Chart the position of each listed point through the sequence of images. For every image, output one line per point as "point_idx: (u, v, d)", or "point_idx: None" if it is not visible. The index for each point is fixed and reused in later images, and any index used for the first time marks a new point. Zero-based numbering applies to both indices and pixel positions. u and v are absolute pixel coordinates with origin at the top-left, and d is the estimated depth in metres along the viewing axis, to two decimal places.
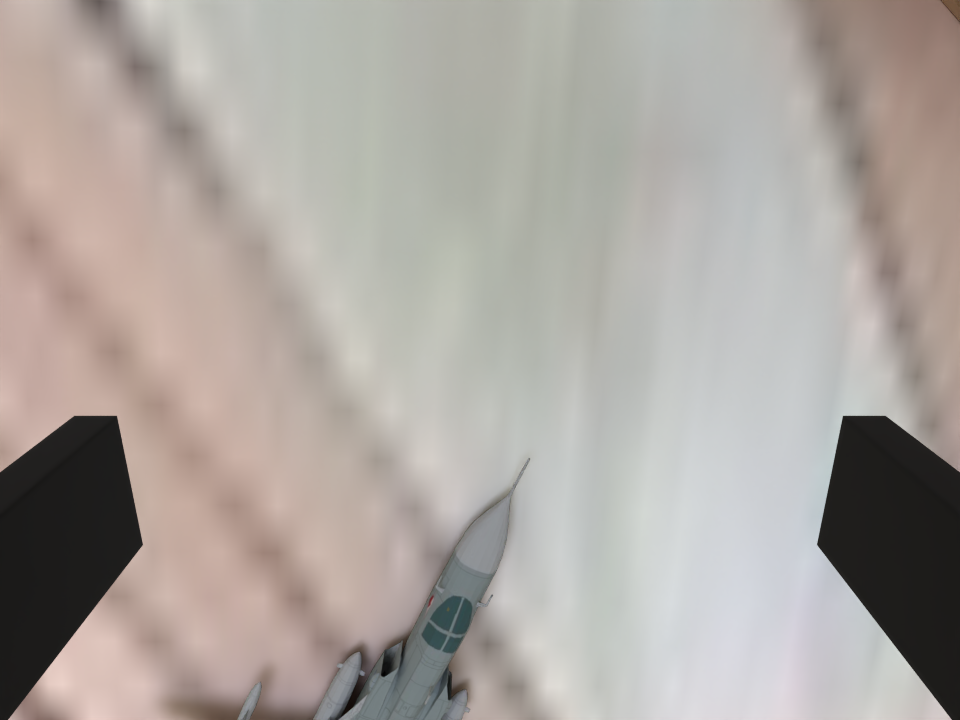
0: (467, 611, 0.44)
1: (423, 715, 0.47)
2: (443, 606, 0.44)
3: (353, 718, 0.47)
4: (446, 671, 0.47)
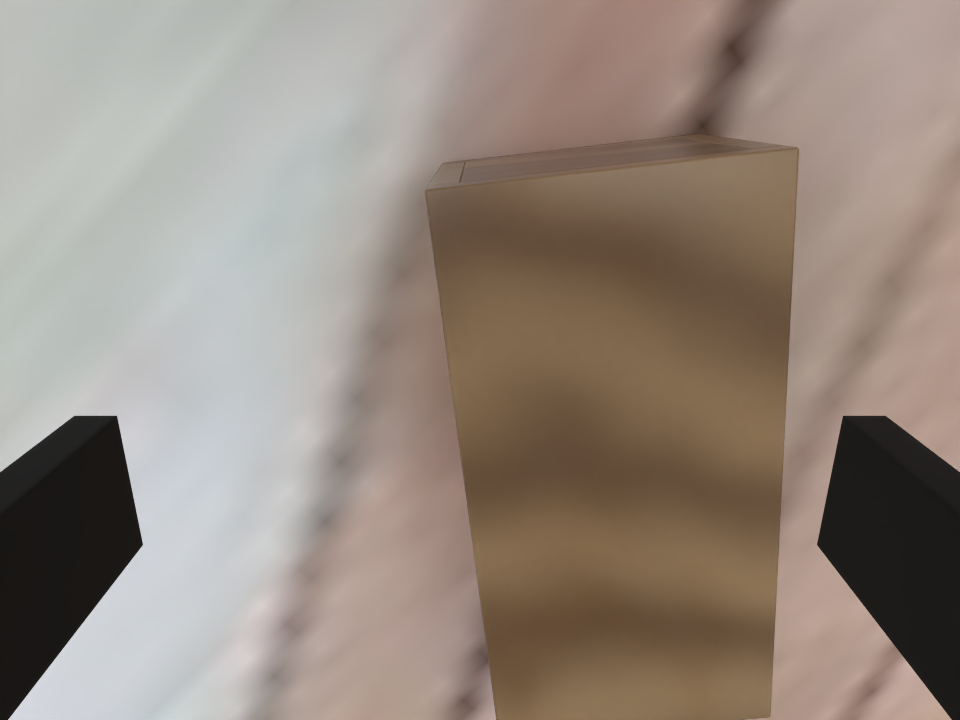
0: None
1: None
2: None
3: None
4: None
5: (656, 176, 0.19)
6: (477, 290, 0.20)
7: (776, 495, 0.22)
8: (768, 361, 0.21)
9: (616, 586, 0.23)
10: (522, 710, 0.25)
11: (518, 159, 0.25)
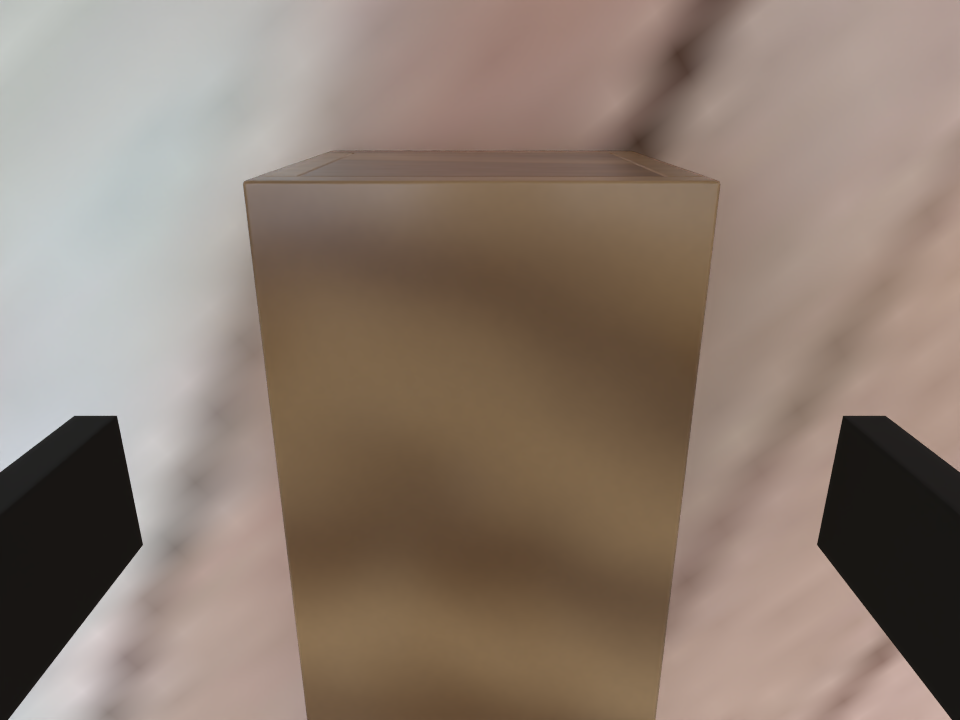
0: None
1: None
2: None
3: None
4: None
5: (539, 197, 0.15)
6: (307, 315, 0.16)
7: (664, 596, 0.18)
8: (665, 439, 0.17)
9: (468, 682, 0.19)
10: None
11: (410, 156, 0.21)
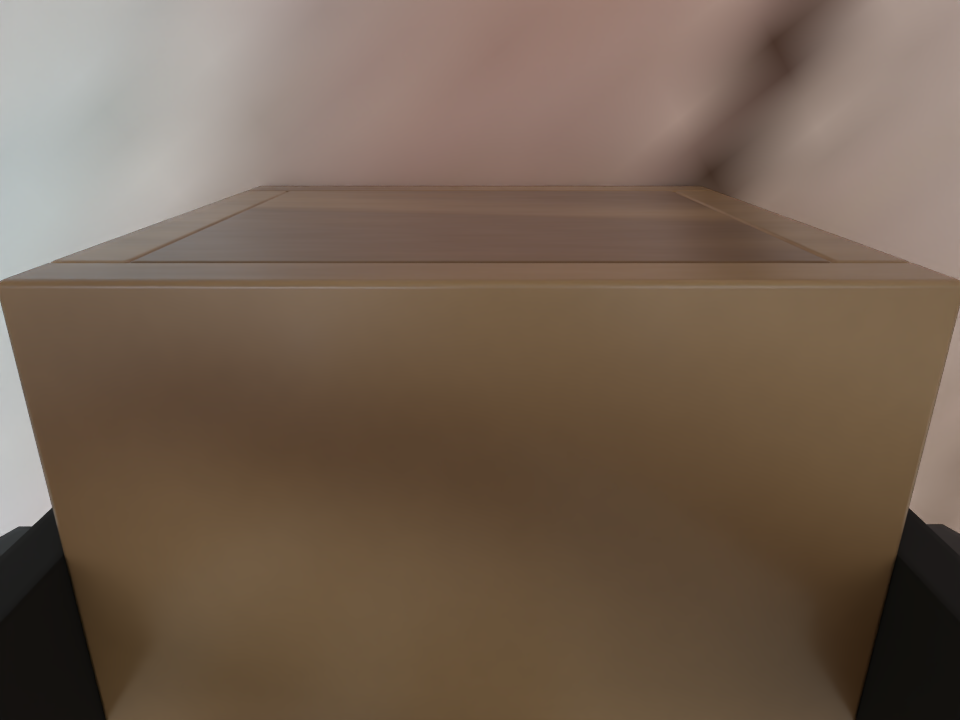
0: None
1: None
2: None
3: None
4: None
5: (597, 312, 0.07)
6: (148, 525, 0.08)
7: None
8: None
9: None
10: None
11: (368, 200, 0.13)
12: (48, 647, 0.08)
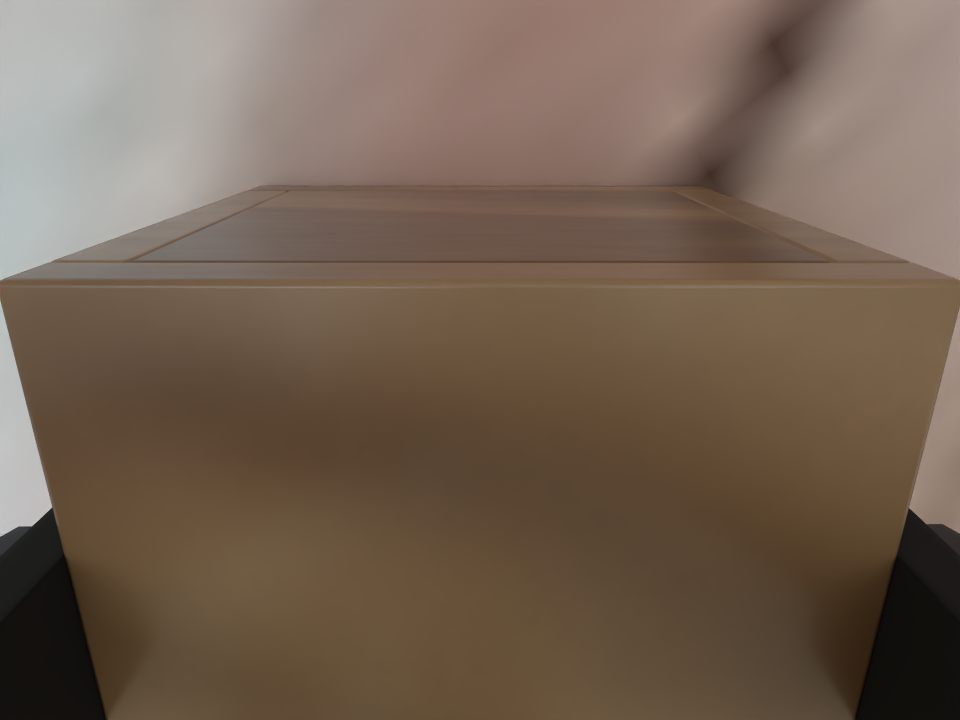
0: None
1: None
2: None
3: None
4: None
5: (598, 312, 0.07)
6: (148, 525, 0.08)
7: None
8: None
9: None
10: None
11: (369, 200, 0.13)
12: (47, 647, 0.08)
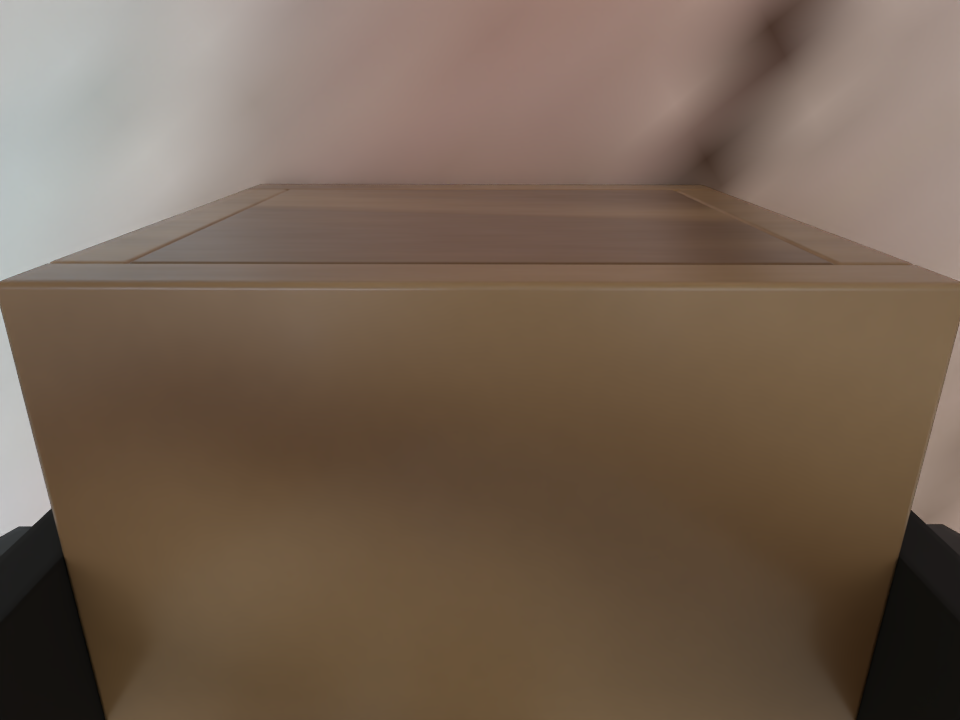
0: None
1: None
2: None
3: None
4: None
5: (599, 315, 0.07)
6: (148, 527, 0.08)
7: None
8: None
9: None
10: None
11: (369, 199, 0.13)
12: (47, 647, 0.08)
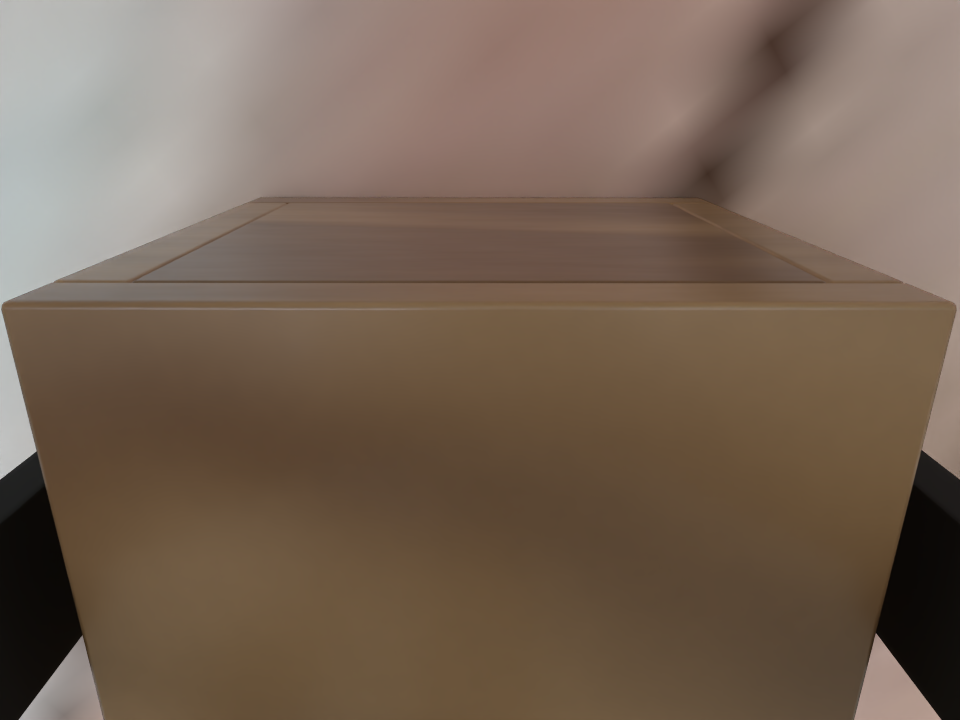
0: None
1: None
2: None
3: None
4: None
5: (595, 334, 0.07)
6: (150, 542, 0.08)
7: None
8: None
9: None
10: None
11: (368, 213, 0.13)
12: None
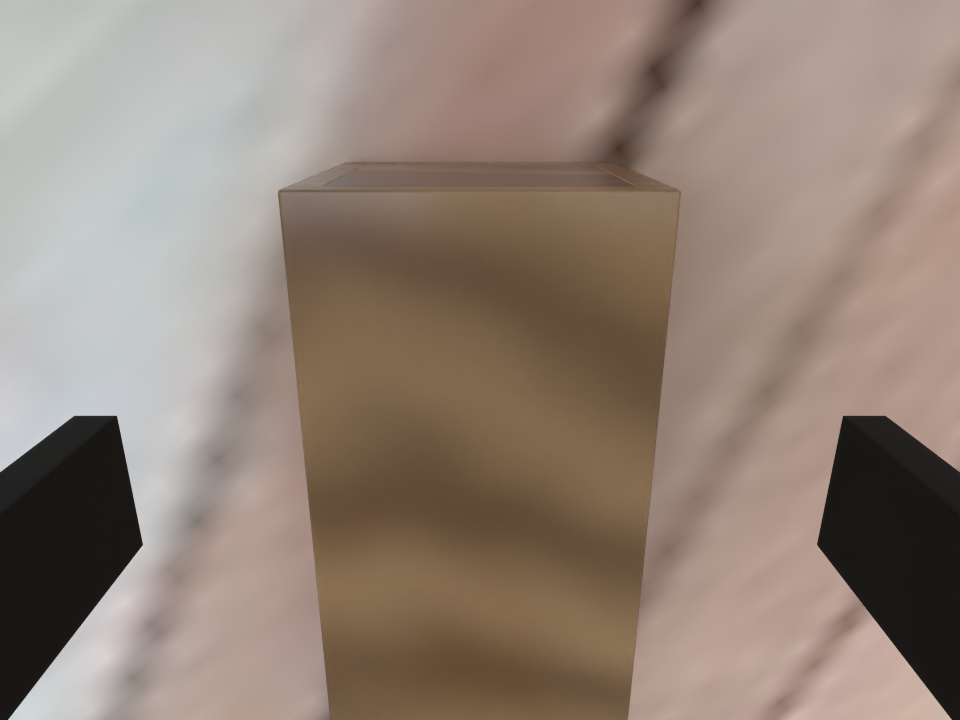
0: None
1: None
2: None
3: None
4: None
5: (528, 204, 0.17)
6: (330, 304, 0.18)
7: (639, 552, 0.21)
8: (637, 412, 0.19)
9: (467, 631, 0.22)
10: None
11: (416, 168, 0.23)
12: None
